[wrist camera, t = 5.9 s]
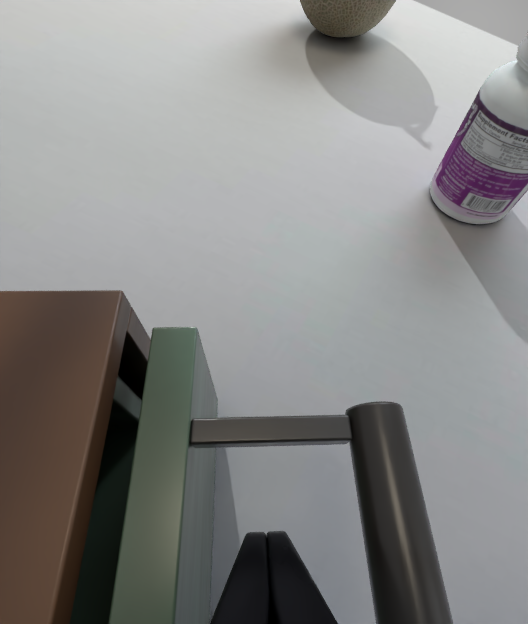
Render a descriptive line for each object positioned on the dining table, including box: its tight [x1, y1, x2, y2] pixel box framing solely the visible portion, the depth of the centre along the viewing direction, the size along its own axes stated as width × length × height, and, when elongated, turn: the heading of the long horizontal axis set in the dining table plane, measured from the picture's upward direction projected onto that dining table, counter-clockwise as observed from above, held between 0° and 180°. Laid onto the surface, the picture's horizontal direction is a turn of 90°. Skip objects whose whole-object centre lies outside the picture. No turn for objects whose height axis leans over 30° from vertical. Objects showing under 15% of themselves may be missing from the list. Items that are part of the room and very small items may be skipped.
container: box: [70, 327, 453, 624], centre depth 9 cm, size 18×10×7 cm, turn 92°
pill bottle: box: [430, 32, 528, 224], centre depth 19 cm, size 5×5×10 cm
